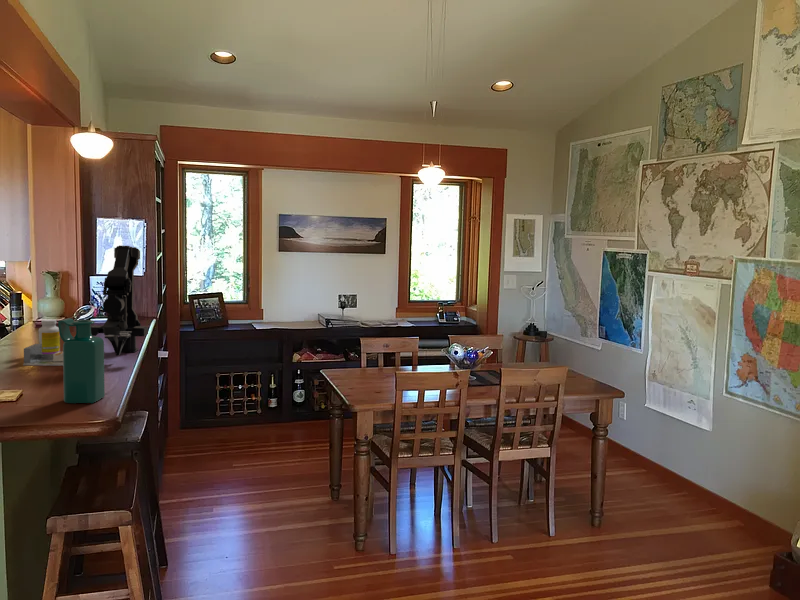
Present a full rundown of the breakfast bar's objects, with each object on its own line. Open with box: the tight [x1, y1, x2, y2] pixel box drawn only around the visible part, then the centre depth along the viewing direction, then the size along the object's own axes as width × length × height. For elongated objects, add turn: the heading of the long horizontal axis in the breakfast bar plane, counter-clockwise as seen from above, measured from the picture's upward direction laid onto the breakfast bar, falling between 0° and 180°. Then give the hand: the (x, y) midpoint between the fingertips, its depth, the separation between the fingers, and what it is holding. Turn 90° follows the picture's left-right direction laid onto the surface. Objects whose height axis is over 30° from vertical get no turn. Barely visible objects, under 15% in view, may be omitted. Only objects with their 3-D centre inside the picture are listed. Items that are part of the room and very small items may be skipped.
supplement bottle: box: [38, 319, 61, 354], centre depth 223 cm, size 7×7×13 cm
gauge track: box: [22, 343, 63, 367], centre depth 212 cm, size 10×14×6 cm
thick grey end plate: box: [53, 351, 63, 361], centre depth 212 cm, size 8×13×3 cm, turn 98°
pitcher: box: [57, 317, 106, 404], centre depth 168 cm, size 10×8×22 cm
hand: (118, 355), depth 215 cm, fingers closed
